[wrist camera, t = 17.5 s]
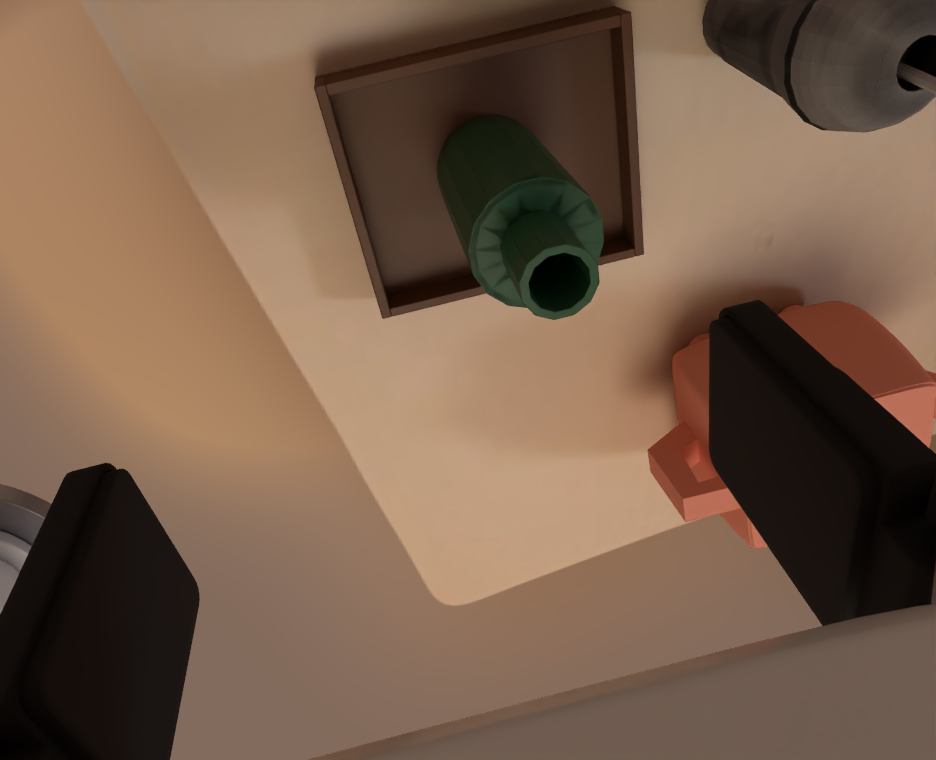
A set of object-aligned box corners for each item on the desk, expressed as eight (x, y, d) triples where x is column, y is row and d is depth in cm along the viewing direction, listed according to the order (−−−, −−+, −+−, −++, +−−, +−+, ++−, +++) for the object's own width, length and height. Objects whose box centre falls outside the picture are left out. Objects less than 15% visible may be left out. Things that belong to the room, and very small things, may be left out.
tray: (380, 299, 48) (382, 319, 45) (314, 76, 40) (313, 87, 37) (628, 238, 48) (644, 254, 46) (614, 5, 40) (631, 11, 38)
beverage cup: (791, -82, 39) (1129, -75, 23) (806, 51, 43) (1101, 139, 27) (667, -22, 40) (907, 27, 23) (693, 103, 44) (913, 220, 27)
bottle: (448, 230, 45) (498, 364, 32) (426, 128, 41) (472, 230, 28) (547, 206, 45) (637, 329, 32) (533, 103, 42) (628, 192, 28)
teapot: (895, 255, 52) (1059, 354, 41) (884, 389, 59) (1020, 507, 48) (608, 347, 53) (688, 472, 41) (631, 470, 60) (704, 606, 48)
